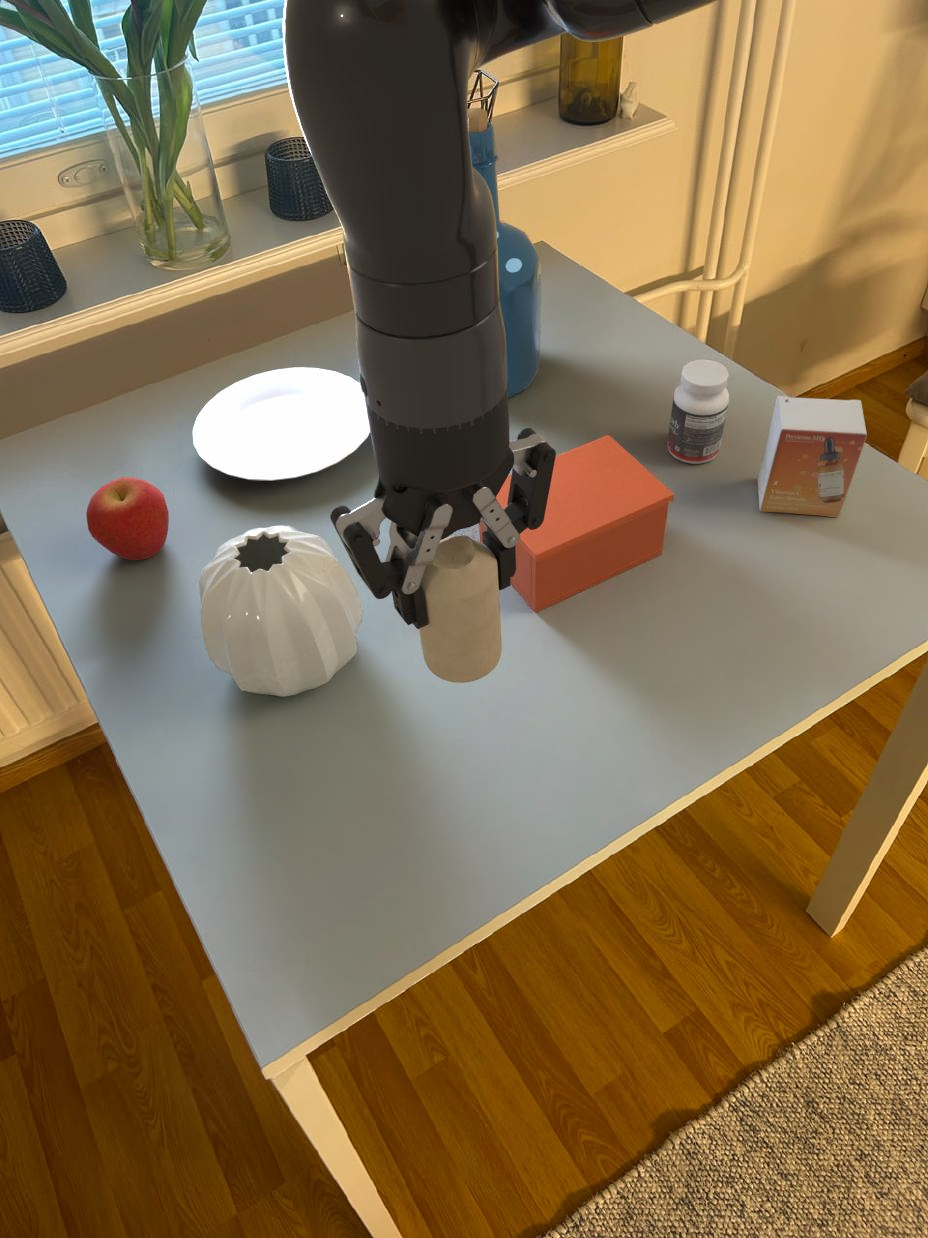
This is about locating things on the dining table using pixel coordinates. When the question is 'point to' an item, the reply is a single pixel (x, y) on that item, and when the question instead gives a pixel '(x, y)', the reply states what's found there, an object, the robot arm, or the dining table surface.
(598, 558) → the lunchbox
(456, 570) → the candle
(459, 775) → the dining table surface
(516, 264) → the wine bottle
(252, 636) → the vase
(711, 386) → the pill bottle
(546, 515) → the lunchbox lid
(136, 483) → the apple
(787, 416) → the small box
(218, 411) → the plate
